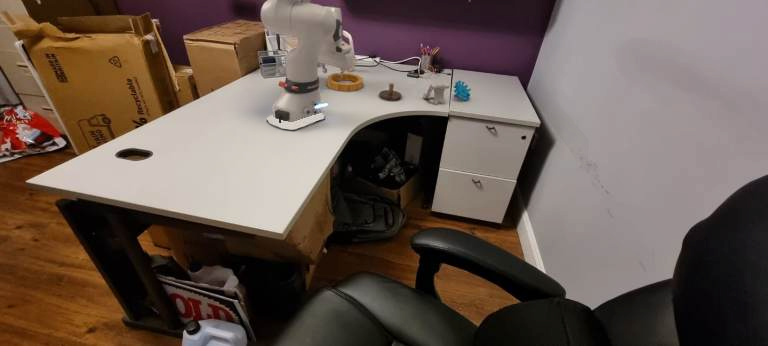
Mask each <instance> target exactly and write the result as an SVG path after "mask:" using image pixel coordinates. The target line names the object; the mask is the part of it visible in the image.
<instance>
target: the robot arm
mask: <svg viewBox="0 0 768 346" xmlns="http://www.w3.org/2000/svg"><path fill="white" fill-rule="evenodd" d="M311 1H312V0H266V1H265V2H264V3H263V4H262V6H261V8H260V21H261V22H262V25H263V27H264V28H265V29H266V30H267V31H268V32H271V33H272V34H273V33H274V34H276V35H279V36H283V37H291V38H295V39H297V46H296V47H294V48H292V49H290V50H288V52H287V53H286V55H285V57H284V63H285V71H286V72H285V73H286V76H285V80H284V81H283V80H280V81H278V87H280V88H283V90H282V92H281V93H280V94H279V96H278V97H277V98H276V100H275V101H274V102H273V104H272V107H271V111H272V114H271V115H273V117H275V118H276V119H279V123H281V120H283V121H288V122H294V121H297V120H300V119H303V118H306V117H309V116H312V115H316V114H319V113H323V114H325V113H324V109H323V107H326V106H327V107H328V103H322V102H323V101H322V96H321V94H320V93H321V92H320V90H319V89H320V78H319V76H318V75H319V74H318V64H319V66H320V67H321V69H322V70H321V71H322V73H323V74H327V73H328V68H326V65H327V66H330V67H333V68H338V69H340V70H339V71H340V72H338V73H339V77H341V78H342V77H343V73H345V71H348V69H351V68H352V54H351V52H350V51H351V49H352V48H351V46H350V44H349V43H346V42H345V41H344V40H343V36H344V35H343V31H344V24H343V18H342V10H341V8H340V7H339V6H334V5H324V6H323V5H321V4H317V3H311Z"/></svg>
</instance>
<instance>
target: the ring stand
mask: <svg viewBox="0 0 768 346" xmlns="http://www.w3.org/2000/svg"><path fill="white" fill-rule="evenodd" d="M394 85H395V84H394V83H393V82H390V83H388V89H385V90H384V89H383V90H381V91H380V92H379V98H380V99H382V100H384V101H388V102H397V101H400V100H401V99H402V93H401V92H399V91H396V90H394Z"/></svg>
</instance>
